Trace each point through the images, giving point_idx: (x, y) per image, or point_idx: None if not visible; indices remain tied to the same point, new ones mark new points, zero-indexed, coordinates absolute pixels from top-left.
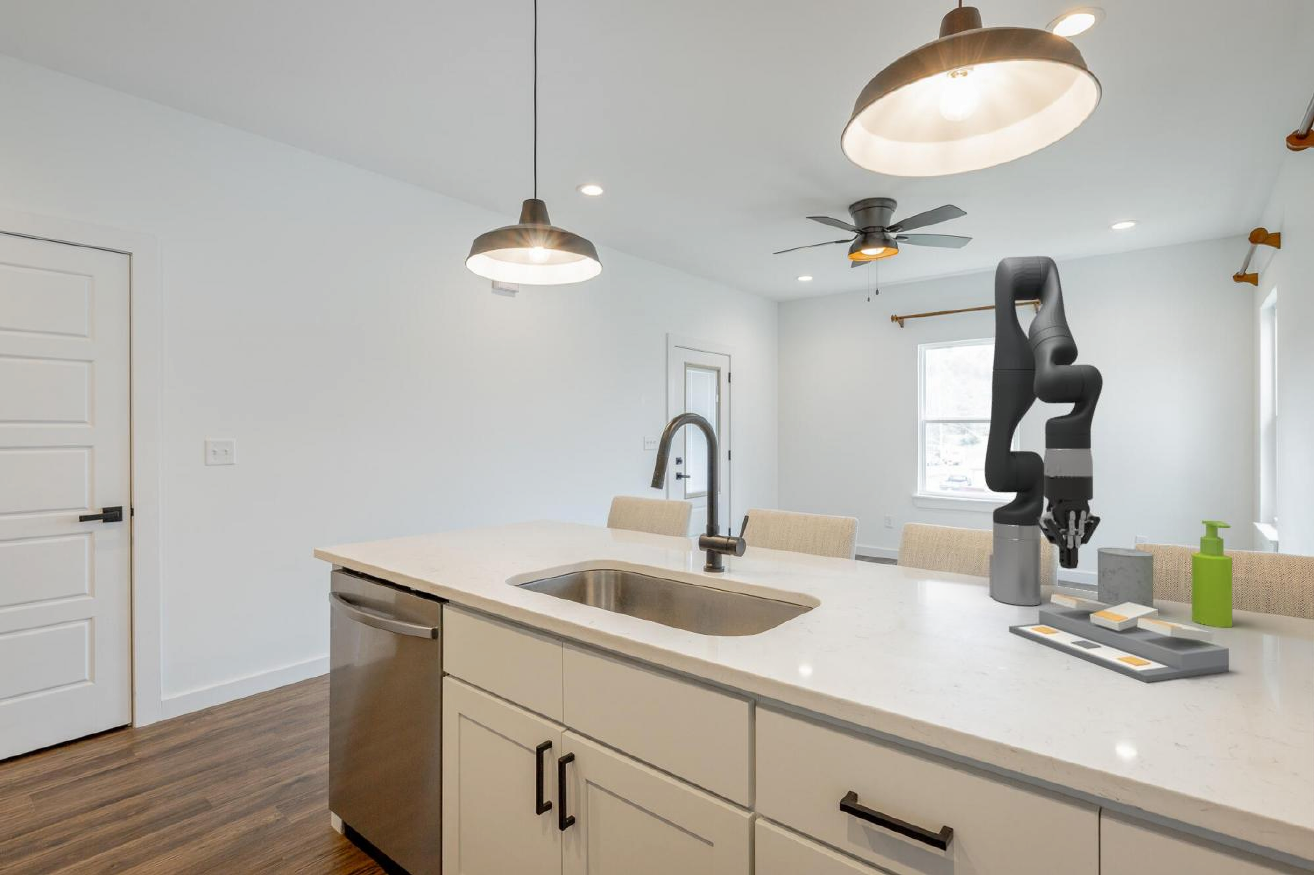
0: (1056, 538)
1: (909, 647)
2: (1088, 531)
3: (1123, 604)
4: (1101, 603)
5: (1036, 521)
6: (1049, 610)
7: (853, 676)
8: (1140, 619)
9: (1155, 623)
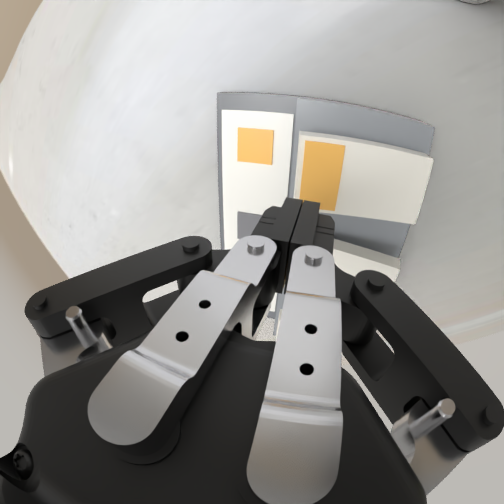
0: (157, 304)
1: (63, 130)
2: (367, 386)
3: (380, 266)
4: (404, 205)
5: (36, 295)
6: (320, 111)
7: (26, 185)
8: (278, 322)
9: (276, 337)
